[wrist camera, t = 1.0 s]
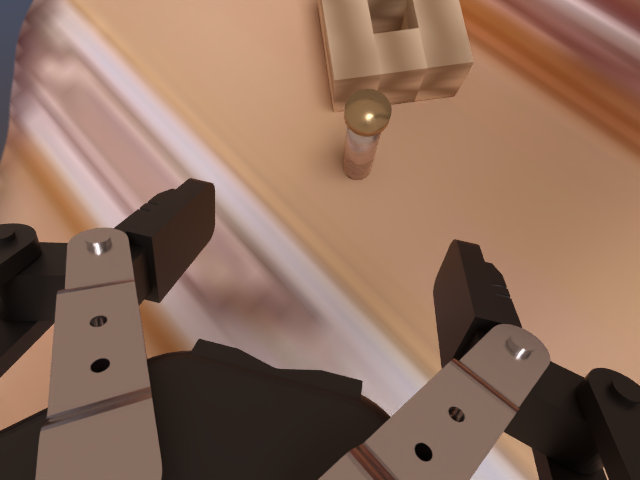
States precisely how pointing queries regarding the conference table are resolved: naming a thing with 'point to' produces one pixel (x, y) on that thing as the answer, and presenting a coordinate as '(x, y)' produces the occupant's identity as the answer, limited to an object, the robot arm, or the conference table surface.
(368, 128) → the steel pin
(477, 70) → the conference table surface
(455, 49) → the maple hitch block
